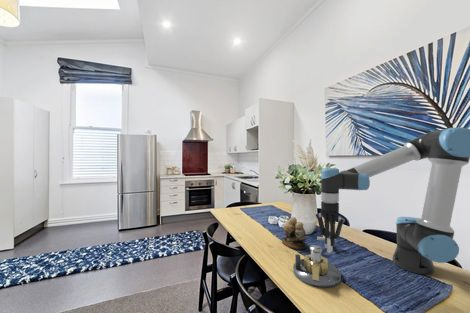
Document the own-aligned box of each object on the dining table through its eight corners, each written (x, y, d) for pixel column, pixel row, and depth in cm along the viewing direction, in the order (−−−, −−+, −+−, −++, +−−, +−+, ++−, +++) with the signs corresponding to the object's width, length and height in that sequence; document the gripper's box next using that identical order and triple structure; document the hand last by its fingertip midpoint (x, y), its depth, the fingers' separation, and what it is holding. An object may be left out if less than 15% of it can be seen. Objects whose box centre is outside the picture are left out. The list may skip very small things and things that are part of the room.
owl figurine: (313, 248, 119) (313, 219, 119) (298, 253, 113) (298, 222, 113) (291, 237, 135) (290, 211, 135) (277, 241, 129) (276, 214, 129)
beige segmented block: (329, 282, 83) (328, 269, 83) (302, 277, 86) (302, 264, 86) (327, 260, 100) (327, 249, 100) (305, 256, 104) (305, 246, 104)
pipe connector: (338, 252, 114) (338, 234, 114) (319, 250, 116) (318, 233, 116) (333, 244, 123) (333, 228, 123) (315, 243, 125) (315, 227, 125)
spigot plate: (349, 275, 91) (349, 248, 91) (325, 294, 79) (325, 263, 79) (309, 258, 107) (308, 235, 107) (284, 272, 95) (284, 246, 95)
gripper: (347, 202, 94) (347, 254, 94) (319, 198, 103) (319, 244, 104) (341, 205, 89) (341, 259, 89) (312, 200, 98) (312, 249, 98)
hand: (329, 251), depth 96 cm, fingers closed
